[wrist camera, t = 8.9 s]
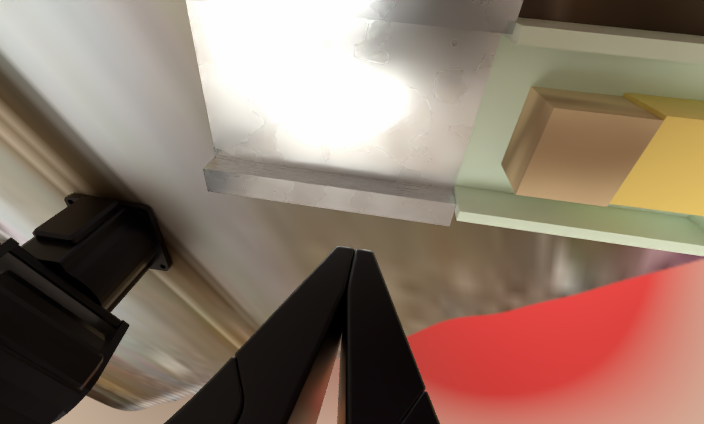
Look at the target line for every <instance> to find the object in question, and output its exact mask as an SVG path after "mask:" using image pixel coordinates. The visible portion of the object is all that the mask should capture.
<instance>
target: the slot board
mask: <svg viewBox="0 0 704 424" xmlns="http://www.w3.org/2000/svg"><path fill="white" fill-rule="evenodd" d="M522 3H523V0H186V4H187V9H188V14H189V20H190V25H191V30H192V35H193V40H194V46H195V51H196V56H197V61H198V67H199V72H200V77H201V82H202V88H203V93H204V98H205V103H206V108H207V114H208V119H209V124H210V129H211V135H212V140H213V145H214V150H215V155H216V157H215V158H214V159H212V160H211V161H210V162H209V163H208V164H207V165H206V166H205V167H204V168H203V171H204V175H205V180H206V184H207V189H208V191H211V192H218V193H224V194H231V195H238V196H245V197H252V198H259V199H266V200H272V201H279V202H286V203H293V204H300V205H307V206H314V207H320V208H327V209H334V210H341V211H348V212H355V213H362V214H368V215H375V216H382V217H389V218H396V219H403V220H410V221H417V222H423V223H430V224H437V225H444V226H450V223H451V220H452V217H453V214H454V211H455V208H456V205H457V204H456V199H455V194H454V186H455V183H456V180H457V177H458V174H459V170H460V167H461V164H462V161H463V157H464V154H465V151H466V148H467V145H468V141H469V138H470V135H471V132H472V128H473V125H474V122H475V119H476V115H477V112H478V109H479V106H480V103H481V99H482V96H483V93H484V90H485V86H486V83H487V80H488V77H489V74H490V70H491V67H492V64H493V61H494V57H495V54H496V51H497V48H498V44H499V41H500V38H501V35H502V33H504V34H513V31H514V28H515V25H516V21H517V18H518V15H519V12H520V9H521V6H522Z"/></svg>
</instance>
